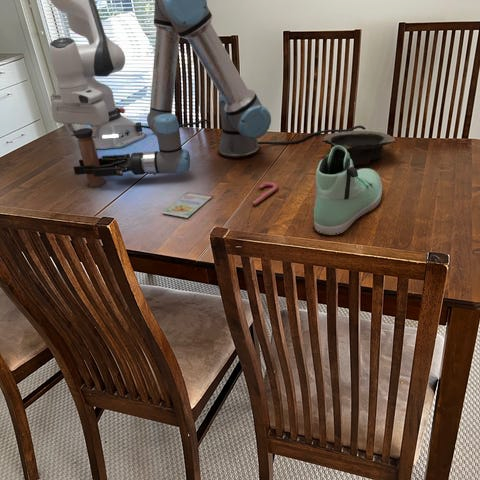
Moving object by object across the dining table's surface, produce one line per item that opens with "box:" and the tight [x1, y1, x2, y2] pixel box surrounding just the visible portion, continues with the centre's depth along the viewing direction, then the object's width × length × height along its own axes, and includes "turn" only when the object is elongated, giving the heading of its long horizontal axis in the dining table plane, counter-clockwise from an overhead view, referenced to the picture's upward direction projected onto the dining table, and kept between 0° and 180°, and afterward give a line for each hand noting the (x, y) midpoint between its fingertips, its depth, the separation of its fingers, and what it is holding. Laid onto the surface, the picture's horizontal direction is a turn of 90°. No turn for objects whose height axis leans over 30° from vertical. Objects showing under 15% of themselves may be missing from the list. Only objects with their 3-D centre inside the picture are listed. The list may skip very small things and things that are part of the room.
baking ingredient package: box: [162, 192, 212, 218], centre depth 147 cm, size 9×1×15 cm
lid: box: [74, 127, 93, 140], centre depth 158 cm, size 6×6×2 cm
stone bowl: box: [321, 130, 396, 167], centre depth 169 cm, size 25×25×9 cm
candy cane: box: [252, 181, 279, 206], centre depth 150 cm, size 6×15×2 cm, turn 145°
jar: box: [77, 136, 105, 188], centre depth 163 cm, size 5×5×18 cm
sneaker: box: [313, 146, 383, 236], centre depth 133 cm, size 14×35×20 cm, turn 152°
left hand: (85, 136), depth 158 cm, fingers open, 8 cm apart
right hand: (77, 167), depth 164 cm, fingers closed on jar, 5 cm apart
